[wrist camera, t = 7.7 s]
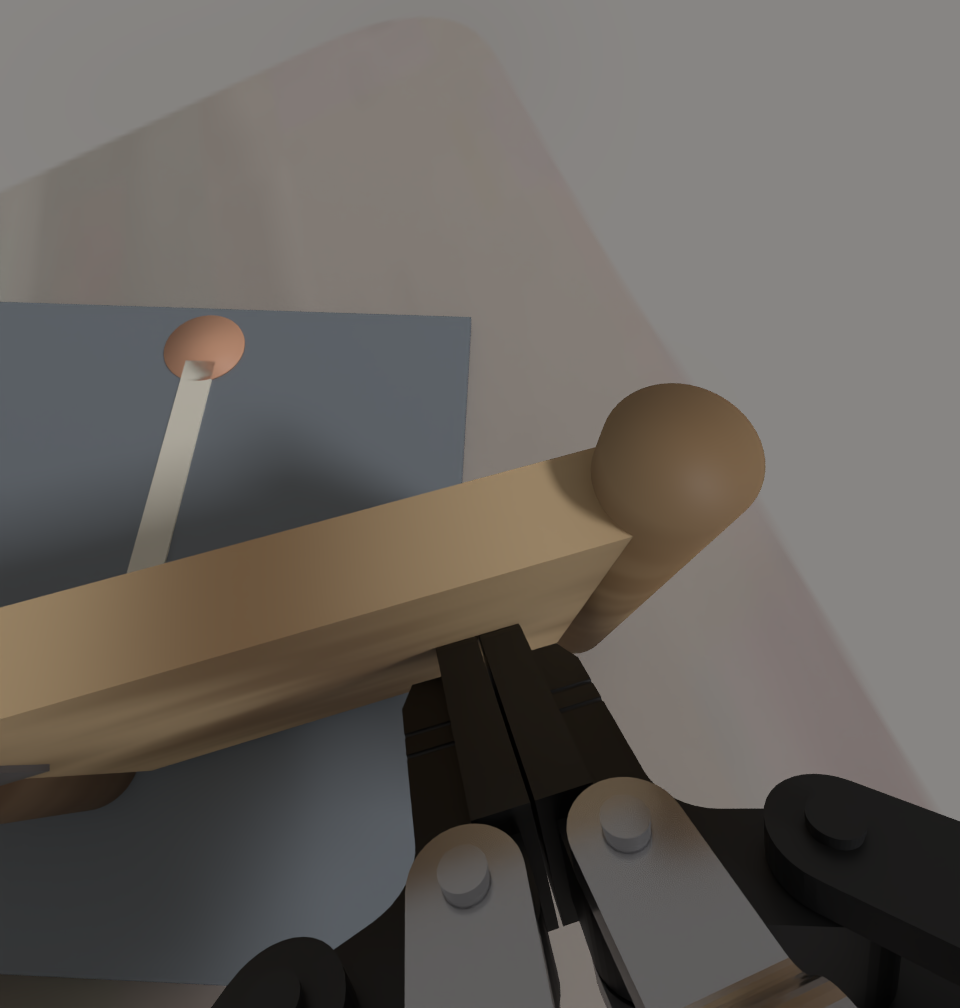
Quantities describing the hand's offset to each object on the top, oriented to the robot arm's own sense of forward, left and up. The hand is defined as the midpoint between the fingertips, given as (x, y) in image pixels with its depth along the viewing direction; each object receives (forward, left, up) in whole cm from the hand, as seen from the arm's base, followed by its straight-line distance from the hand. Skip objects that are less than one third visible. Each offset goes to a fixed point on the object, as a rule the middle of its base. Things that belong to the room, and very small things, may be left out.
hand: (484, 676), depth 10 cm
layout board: (-8, +3, -4) cm, 10 cm away
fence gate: (-3, 0, -4) cm, 4 cm away
